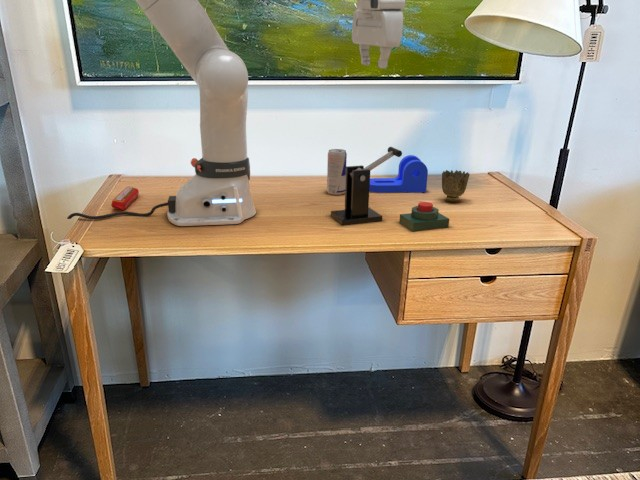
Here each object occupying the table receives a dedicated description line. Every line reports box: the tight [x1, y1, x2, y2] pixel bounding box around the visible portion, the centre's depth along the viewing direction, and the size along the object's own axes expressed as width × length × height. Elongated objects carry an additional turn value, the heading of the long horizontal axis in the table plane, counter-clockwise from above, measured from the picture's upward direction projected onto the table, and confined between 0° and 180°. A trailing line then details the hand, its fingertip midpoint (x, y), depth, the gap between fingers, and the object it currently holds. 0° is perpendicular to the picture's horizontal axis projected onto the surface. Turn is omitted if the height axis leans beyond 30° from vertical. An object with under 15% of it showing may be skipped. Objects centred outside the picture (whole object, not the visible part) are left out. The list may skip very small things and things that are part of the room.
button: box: [417, 201, 434, 212], centre depth 143 cm, size 4×4×2 cm
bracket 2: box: [369, 154, 429, 194], centre depth 173 cm, size 18×8×9 cm, turn 94°
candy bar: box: [111, 186, 140, 211], centre depth 158 cm, size 16×4×3 cm, turn 0°
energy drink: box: [326, 148, 348, 196], centre depth 168 cm, size 5×5×12 cm
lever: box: [350, 146, 403, 178], centre depth 144 cm, size 13×5×2 cm, turn 112°
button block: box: [398, 205, 450, 232], centre depth 144 cm, size 10×7×4 cm
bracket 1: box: [330, 164, 383, 226], centre depth 146 cm, size 11×8×13 cm
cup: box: [441, 169, 470, 203], centre depth 162 cm, size 8×7×8 cm
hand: (373, 66), depth 140 cm, fingers open, 8 cm apart
